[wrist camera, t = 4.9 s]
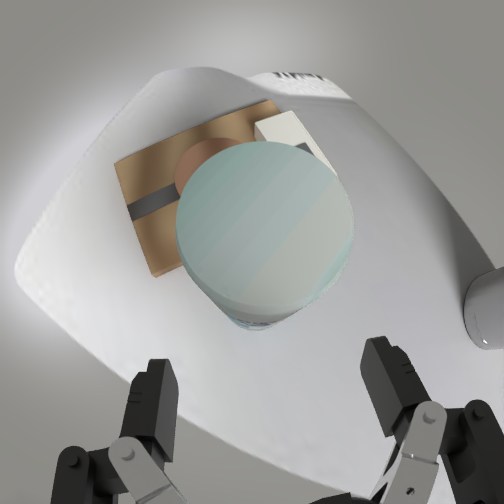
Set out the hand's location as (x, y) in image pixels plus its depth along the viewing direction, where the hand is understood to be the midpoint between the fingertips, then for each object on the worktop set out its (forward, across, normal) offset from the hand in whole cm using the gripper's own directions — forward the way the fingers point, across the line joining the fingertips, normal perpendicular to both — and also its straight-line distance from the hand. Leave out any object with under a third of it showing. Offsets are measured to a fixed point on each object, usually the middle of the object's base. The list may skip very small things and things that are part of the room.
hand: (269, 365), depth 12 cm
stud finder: (+24, -5, -2) cm, 25 cm away
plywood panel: (+25, +2, -1) cm, 25 cm away
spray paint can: (+16, 0, +9) cm, 18 cm away
